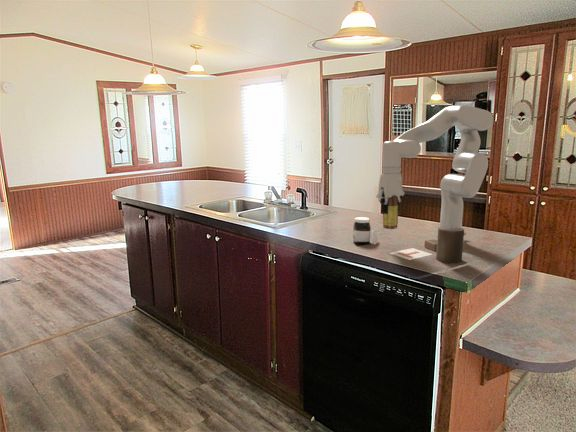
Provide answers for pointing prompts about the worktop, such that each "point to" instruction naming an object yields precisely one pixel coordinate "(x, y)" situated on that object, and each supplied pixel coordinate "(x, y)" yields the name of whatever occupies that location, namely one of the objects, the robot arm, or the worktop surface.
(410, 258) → the board
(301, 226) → the worktop surface
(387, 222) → the sauce bottle
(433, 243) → the walnut block
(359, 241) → the spread jar
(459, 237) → the brown cylindrical pedestal
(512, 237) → the worktop surface
